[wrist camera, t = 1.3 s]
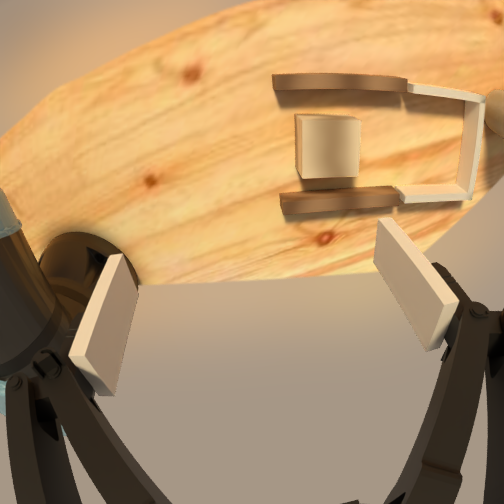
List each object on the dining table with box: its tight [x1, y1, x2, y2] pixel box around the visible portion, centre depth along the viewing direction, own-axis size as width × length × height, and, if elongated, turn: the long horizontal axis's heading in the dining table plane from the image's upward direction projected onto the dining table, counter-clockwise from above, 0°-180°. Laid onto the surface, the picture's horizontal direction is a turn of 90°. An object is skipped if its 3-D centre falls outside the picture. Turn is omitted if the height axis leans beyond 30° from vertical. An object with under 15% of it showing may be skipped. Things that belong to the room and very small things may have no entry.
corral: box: [394, 82, 486, 203], centre depth 32 cm, size 11×14×3 cm
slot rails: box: [272, 73, 407, 215], centre depth 32 cm, size 14×15×2 cm
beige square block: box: [295, 114, 361, 179], centre depth 32 cm, size 6×6×4 cm
